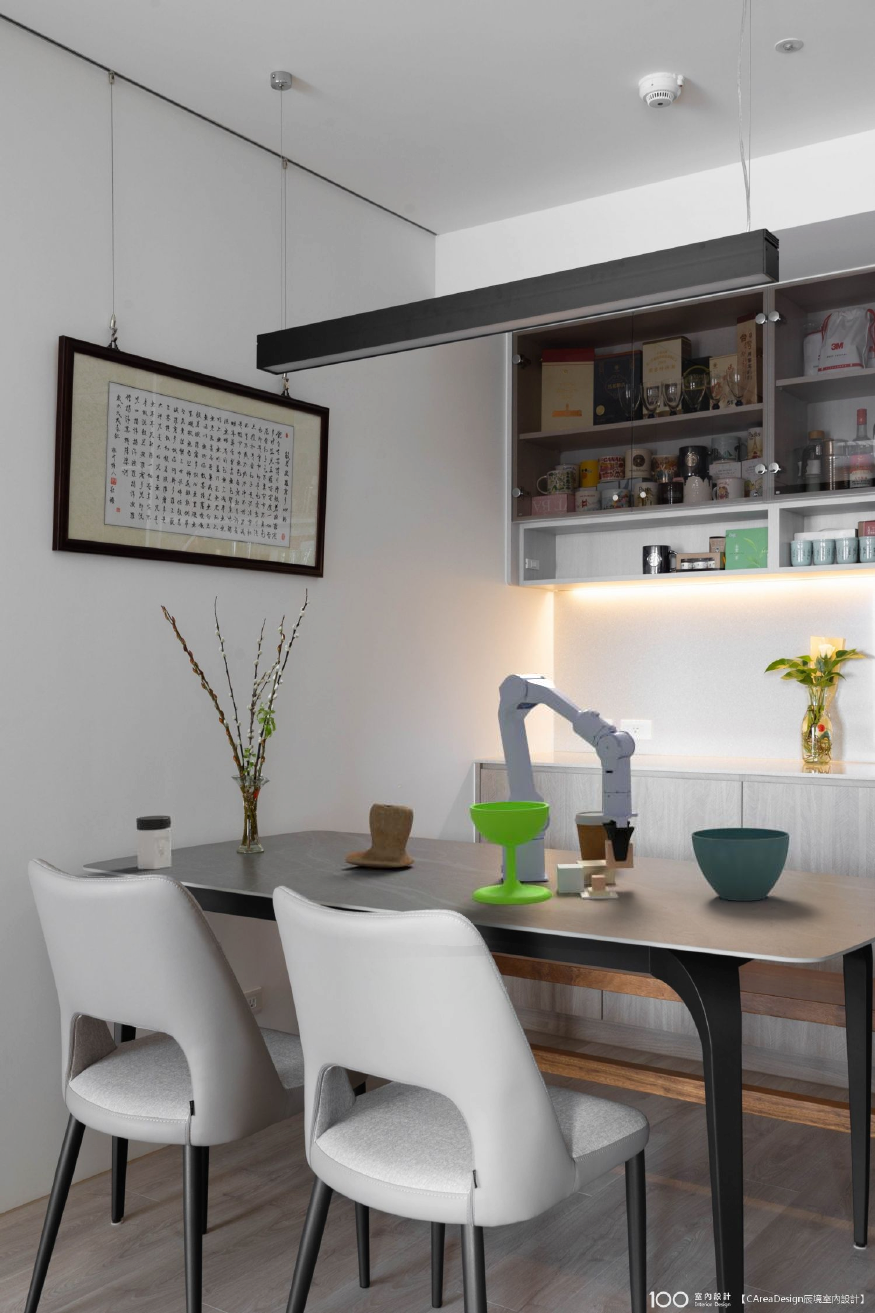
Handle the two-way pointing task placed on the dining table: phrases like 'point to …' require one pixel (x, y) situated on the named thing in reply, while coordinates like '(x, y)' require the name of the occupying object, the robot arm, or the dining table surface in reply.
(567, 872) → the grey block
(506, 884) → the wineglass
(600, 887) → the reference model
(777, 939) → the dining table surface
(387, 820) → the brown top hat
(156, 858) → the jar
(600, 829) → the disposable coffee cup
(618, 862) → the terracotta block
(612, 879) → the maple base block
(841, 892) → the dining table surface
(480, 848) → the dining table surface
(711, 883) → the dark teal bowl
